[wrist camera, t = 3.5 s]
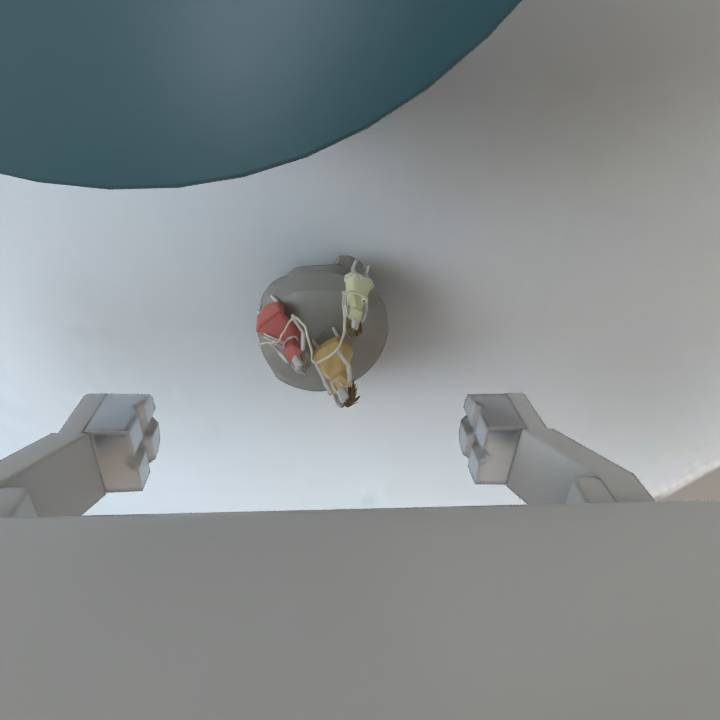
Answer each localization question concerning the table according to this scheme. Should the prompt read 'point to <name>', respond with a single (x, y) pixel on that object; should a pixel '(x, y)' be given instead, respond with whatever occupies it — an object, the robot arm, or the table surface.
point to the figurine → (323, 327)
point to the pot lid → (212, 81)
